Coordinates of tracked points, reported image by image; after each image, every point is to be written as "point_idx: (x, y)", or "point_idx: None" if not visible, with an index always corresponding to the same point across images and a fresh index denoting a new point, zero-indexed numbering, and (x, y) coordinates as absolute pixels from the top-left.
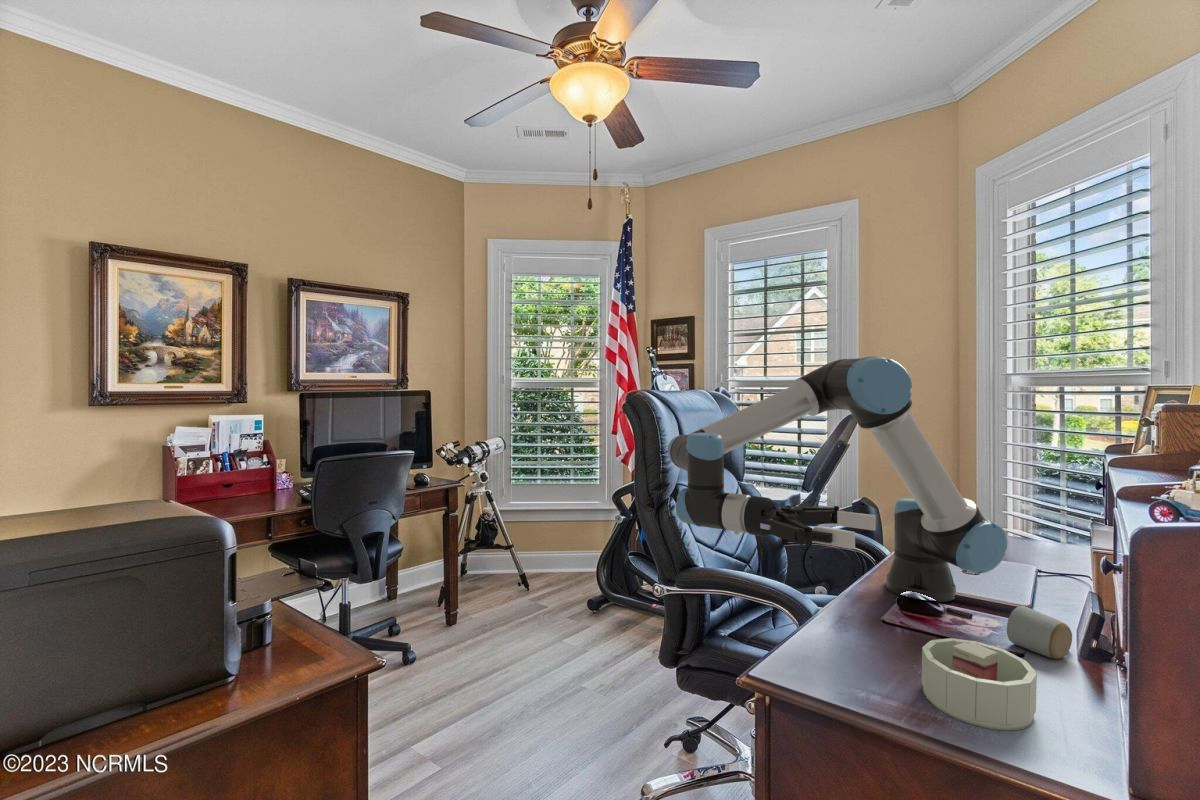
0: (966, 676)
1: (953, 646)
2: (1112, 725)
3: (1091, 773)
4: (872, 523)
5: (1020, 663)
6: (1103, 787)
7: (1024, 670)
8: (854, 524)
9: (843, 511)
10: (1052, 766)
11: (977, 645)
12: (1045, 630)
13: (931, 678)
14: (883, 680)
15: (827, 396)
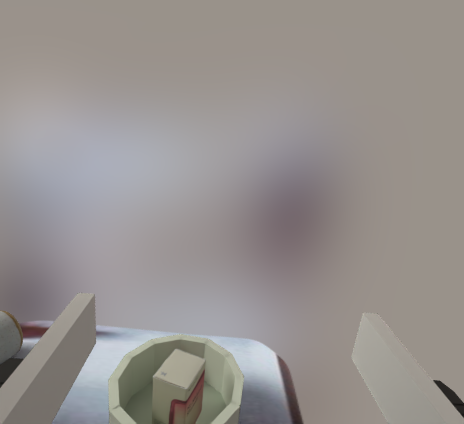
0: (239, 385)
1: (187, 388)
2: (157, 332)
3: (248, 349)
4: (92, 324)
5: (155, 345)
6: (262, 345)
7: (168, 345)
8: (59, 392)
9: (1, 396)
10: (260, 368)
11: (167, 364)
12: (10, 329)
13: None
14: None
15: None
